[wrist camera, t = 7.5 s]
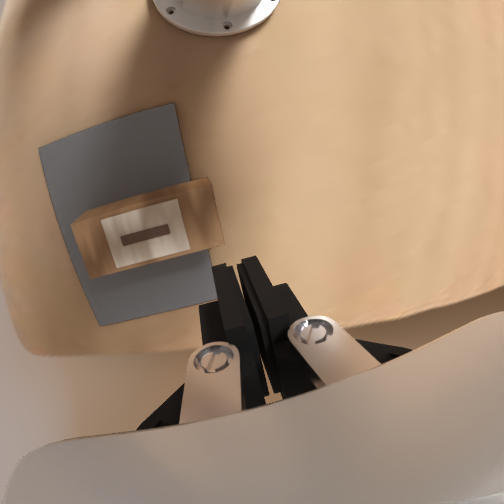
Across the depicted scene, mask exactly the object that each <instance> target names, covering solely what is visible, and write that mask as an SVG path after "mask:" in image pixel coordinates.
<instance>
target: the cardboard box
mask: <svg viewBox="0 0 504 504" xmlns="http://www.w3.org/2000/svg"><path fill="white" fill-rule="evenodd" d="M70 225H71V228H72V231H73V234H74V237H75V240H76V242H77V245H78V248H79V251H80V254H81V256H82V259H83V262H84V264H85V267H86V269H87V272H88V275H89V277H90V279H93V278H97V277H101V276H104V275H108V274H112V273H116V272H120V271H123V270H127V269H131V268H135V267H139V266H143V265H146V264H150V263H154V262H158V261H162V260H166V259H170V258H174V257H178V256H181V255H185V254H189V253H193V252H197V251H201V250H205V249H209V248H213V247H217V246H221V245H225V242H224V237H223V233H222V229H221V224H220V220H219V216H218V211H217V207H216V202H215V198H214V193H213V189H212V184H211V183H210V181H209V179H208V177H205V178H201V179H197V180H193V181H189V182H185V183H181V184H177V185H173V186H169V187H166V188H162V189H158V190H154V191H151V192H147V193H144V194H140V195H137V196H133V197H130V198H126V199H123V200H119V201H116V202H113V203H110V204H106V205H103V206H100V207H97V208H94V209H90V210H88V211H86V212H85V213H84V214H83V215H81V216H80V217H79V218H78V219H76V220H75V221H74V222H73V223H72V224H70Z"/></svg>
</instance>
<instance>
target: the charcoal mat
mask: <svg viewBox="0 0 504 504" xmlns="http://www.w3.org/2000/svg"><path fill="white" fill-rule="evenodd" d="M39 153H40V158H41V162H42V166H43V170H44V174H45V178H46V182H47V186H48V190H49V193H50V197H51V200H52V204H53V207H54V210H55V213H56V217H57V220H58V223H59V226H60V229H61V232H62V235H63V238H64V241H65V244H66V246H67V249H68V252H69V255H70V257H71V260H72V262H73V265H74V268H75V270H76V273H77V275H78V278H79V280H80V283H81V285H82V287H83V290H84V292H85V294H86V297H87V299H88V301H89V303H90V306H91V308H92V310H93V312H94V314H95V317H96V319H97V321H98V323H99V325H100V326H104V325H109V324H113V323H118V322H123V321H127V320H131V319H136V318H140V317H145V316H149V315H153V314H157V313H162V312H166V311H170V310H174V309H178V308H183V307H187V306H191V305H195V304H199V303H203V302H207V301H211V300H215V299H218V298H217V293H216V288H215V283H214V278H213V273H212V268H211V267H212V264H211V260H210V256H209V252H208V249H205V250H201V251H197V252H193V253H189V254H185V255H181V256H178V257H174V258H170V259H166V260H162V261H158V262H154V263H150V264H146V265H143V266H139V267H135V268H131V269H127V270H123V271H120V272H116V273H112V274H108V275H104V276H101V277H97V278H93V279H90V277H89V275H88V272H87V269H86V267H85V264H84V262H83V259H82V256H81V254H80V251H79V248H78V245H77V242H76V240H75V237H74V234H73V231H72V228H71V225H70V224H72V223H73V222H74V221H75V220H76V219H78V218H79V217H80V216H81V215H83V214H84V213H85V212H86V211H88V210H90V209H94V208H97V207H100V206H103V205H106V204H110V203H113V202H116V201H119V200H123V199H126V198H130V197H133V196H137V195H140V194H144V193H147V192H151V191H154V190H158V189H162V188H166V187H169V186H173V185H177V184H181V183H185V182H189V181H191V178H190V174H189V170H188V165H187V161H186V156H185V152H184V147H183V143H182V138H181V133H180V129H179V124H178V119H177V114H176V109H175V105H174V103H171V104H167V105H163V106H159V107H156V108H152V109H148V110H145V111H141V112H138V113H134V114H131V115H128V116H124V117H121V118H118V119H115V120H112V121H109V122H106V123H103V124H100V125H97V126H94V127H91V128H89V129H86V130H83V131H80V132H78V133H75V134H73V135H70V136H67V137H65V138H62V139H60V140H57V141H55V142H53V143H50V144H48V145H46V146H43V147H41V148H39Z"/></svg>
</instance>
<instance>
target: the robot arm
mask: <svg viewBox="0 0 504 504" xmlns="http://www.w3.org/2000/svg"><path fill="white" fill-rule="evenodd" d="M153 2H154V4H155V7H156V9H157V10H158V11H159V13H160V14H161V15H162V17H163V18H165V19H166V20H167V21H168V22H169V23H171V24H172V25H174V26H176V27H178V28H179V29H181V30H184V31H187V32H190V33H193V34H198V35H203V36H228V35H234V34H238V33H242V32H245V31H247V30H249V29H252V28H254V27H256V26H257V25H259V24H260V23H262V22H264V21H265V20H266V19H267V18H268V17H269V16H270V15H271V14H272V12H273V11H274V10H275V8H276V7H277V5H278V3H279V2H280V0H271V1H269V0H153ZM170 12H174V13H173V14H169V13H170ZM224 27H229V29H225V28H224ZM241 261H242V263H240V264H237V269H238V273H239V278H240V282H241V287H242V291H243V295H244V298H243V295H242V292H241V289H240V286H239V283H238V281H237V278H236V275H235V272H234V269H233V266H229V267H227V266H226V263H224V264H220V265H217V266H213V267H211V268H212V273H213V278H214V283H215V288H216V293H217V298H218V301H214V302H210V303H206V304H202V305H199V314H200V324H201V333H202V341H203V346H201V347H199V348H198V349H197V350H195V351H194V352H193V353H192V355H191V356H190V358H189V361H188V365H187V372H186V379H185V383H184V384H183V385H182V386H181V387H180V388H179V389H178V390H177V391H176V392H174V393H173V394H172V395H171V396H170V397H169V398H168V399H167V400H166V401H165V402H164V403H163V404H162V405H161V406H160V407H159V408H158V409H157V410H155V411H154V412H153V413H152V414H151V415H150V416H149V417H148V418H147V419H146V420H145V421H144V422H143V423H142V424H141V425H140V426H139V427H138V428H137V430H136V431H128V432H121V433H120V432H119V433H112V434H104V435H95V436H85V437H78V438H71V439H65V440H61V441H58V442H53V443H50V444H47V445H45V446H42V447H39V448H37V449H35V450H33V451H31V452H29V453H28V454H26V455H25V456H23V457H22V458H21V459H20V460H19V461H18V463H17V464H16V466H15V467H14V469H13V471H12V473H11V475H10V478H9V480H8V483H7V486H6V489H5V493H4V496H3V500H2V504H504V311H503V312H497V313H495V314H491V315H488V316H484V317H482V318H479V319H477V320H474V321H472V322H470V323H468V324H466V325H464V326H462V327H460V328H458V329H456V330H454V331H452V332H450V333H448V334H446V335H443V336H441V337H440V338H437V339H436V340H434V341H432V342H429V343H427V344H426V345H423V346H421V347H419V348H417V349H415V350H411V349H407V348H403V347H396V346H390V345H384V344H379V343H374V342H368V341H363V340H357V339H353V338H352V337H351V336H350V335H349V334H348V333H347V332H346V331H345V330H344V329H343V328H342V327H341V326H339V325H338V324H337V323H336V322H335V321H334V320H332V319H331V318H328V317H325V316H317V315H315V316H308V315H307V314H306V312H305V311H304V309H303V308H302V306H301V304H300V303H299V301H298V300H297V298H296V297H295V295H294V294H293V292H292V291H291V289H290V287H289V286H288V284H287V283H283V284H280V285H276V286H273V285H272V284H271V282H270V280H269V278H268V276H267V275H266V273H265V271H264V269H263V267H262V266H261V264H260V262H259V260H258V258H257V257H256V256H252V257H248V258H244V259H241ZM260 355H261V357H260ZM261 358H262V361H263V363H264V366H265V369H266V372H267V375H268V377H269V380H270V383H271V386H272V389H273V391H274V393H279V392H281V395H282V398H283V400H280V401H276V402H272V403H269V404H266V402H265V399H264V397H265V396H268V395H269V391H268V387H267V382H266V378H265V374H264V370H263V365H262V361H261Z"/></svg>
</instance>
